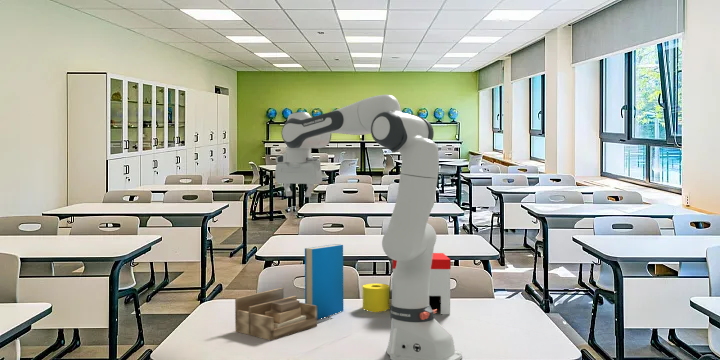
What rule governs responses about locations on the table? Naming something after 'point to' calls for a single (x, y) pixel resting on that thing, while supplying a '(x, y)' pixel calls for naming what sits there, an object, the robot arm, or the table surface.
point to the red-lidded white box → (439, 280)
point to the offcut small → (284, 305)
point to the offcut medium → (284, 315)
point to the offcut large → (290, 321)
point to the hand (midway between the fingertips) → (298, 196)
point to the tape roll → (376, 297)
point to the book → (324, 279)
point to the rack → (259, 325)
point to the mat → (322, 320)
